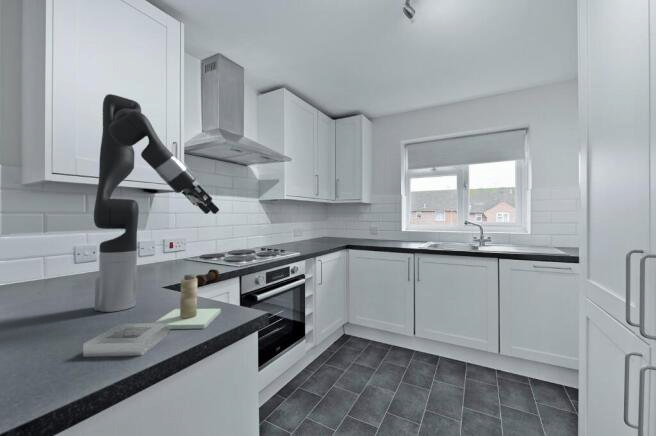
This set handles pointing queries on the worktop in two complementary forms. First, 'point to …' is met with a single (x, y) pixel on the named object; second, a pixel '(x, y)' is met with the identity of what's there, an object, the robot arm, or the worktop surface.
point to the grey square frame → (126, 340)
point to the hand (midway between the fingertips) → (212, 212)
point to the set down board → (192, 323)
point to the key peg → (188, 297)
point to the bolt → (207, 277)
